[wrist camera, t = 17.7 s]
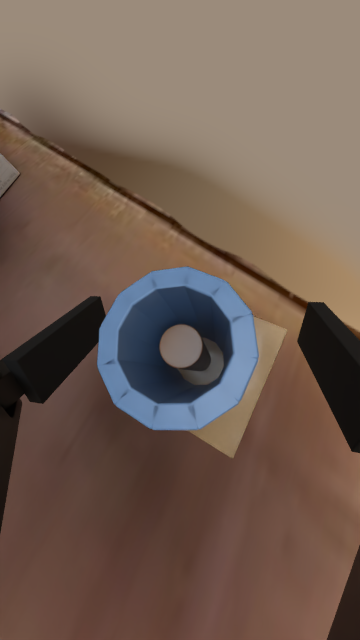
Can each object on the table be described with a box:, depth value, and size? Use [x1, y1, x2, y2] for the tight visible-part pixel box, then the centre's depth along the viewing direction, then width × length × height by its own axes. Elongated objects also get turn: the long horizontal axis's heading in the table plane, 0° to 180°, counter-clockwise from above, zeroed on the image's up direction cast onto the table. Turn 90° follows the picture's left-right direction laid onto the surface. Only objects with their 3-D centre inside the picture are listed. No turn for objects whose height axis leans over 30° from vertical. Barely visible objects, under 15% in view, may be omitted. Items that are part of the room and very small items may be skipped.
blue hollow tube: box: [97, 267, 259, 430], centre depth 12 cm, size 6×6×11 cm
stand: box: [159, 316, 287, 459], centre depth 14 cm, size 11×11×11 cm
